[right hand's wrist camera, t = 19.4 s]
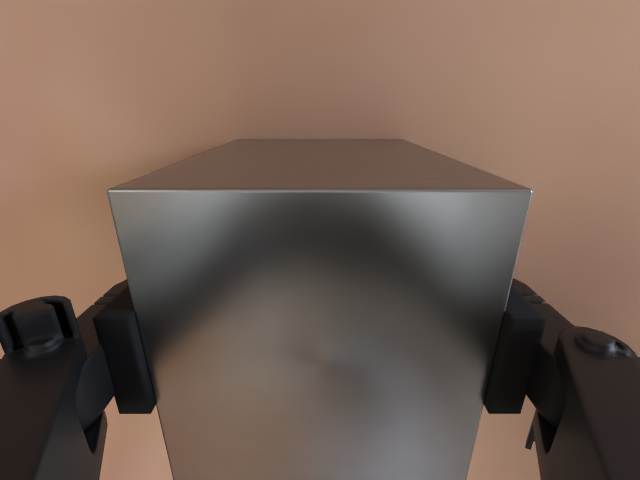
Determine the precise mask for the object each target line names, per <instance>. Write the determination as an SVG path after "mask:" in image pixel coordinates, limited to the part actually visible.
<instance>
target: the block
mask: <svg viewBox="0 0 640 480" xmlns="http://www.w3.org/2000/svg"><path fill="white" fill-rule="evenodd" d="M107 194H108V198H109V202H110V207H111V211H112V215H113V220H114V224H115V228H116V233H117V237H118V241H119V246H120V250H121V254H122V259H123V263H124V267H125V272H126V276H127V280H128V285H129V289H130V293H131V298H132V302H133V306H134V311H135V315H136V319H137V324H138V328H139V332H140V337H141V341H142V345H143V350H144V354H145V358H146V363H147V367H148V371H149V376H150V380H151V384H152V389H153V393H154V397H155V402H156V406H157V410H158V415H159V419H160V423H161V428H162V432H163V436H164V441H165V445H166V449H167V454H168V458H169V462H170V467H171V471H172V475H173V480H466V478H467V474H468V469H469V465H470V461H471V456H472V452H473V448H474V443H475V439H476V435H477V430H478V426H479V422H480V417H481V413H482V409H483V404H484V400H485V396H486V391H487V387H488V383H489V378H490V374H491V370H492V365H493V361H494V357H495V352H496V348H497V344H498V339H499V335H500V331H501V326H502V322H503V318H504V313H505V309H506V305H507V301H508V296H509V292H510V288H511V283H512V279H513V275H514V270H515V266H516V262H517V257H518V253H519V249H520V244H521V240H522V236H523V231H524V227H525V223H526V218H527V214H528V210H529V205H530V201H531V197H532V189H529V188H527V187H524V186H522V185H519V184H516V183H514V182H511V181H509V180H506V179H503V178H501V177H498V176H496V175H493V174H490V173H488V172H485V171H483V170H480V169H478V168H475V167H472V166H470V165H467V164H465V163H462V162H459V161H457V160H454V159H452V158H449V157H446V156H444V155H441V154H439V153H436V152H434V151H431V150H428V149H426V148H423V147H421V146H418V145H415V144H413V143H410V142H408V141H405V140H235V141H232V142H230V143H227V144H225V145H222V146H219V147H217V148H214V149H211V150H209V151H206V152H204V153H201V154H198V155H196V156H193V157H191V158H188V159H185V160H183V161H180V162H178V163H175V164H172V165H170V166H167V167H165V168H162V169H159V170H157V171H154V172H152V173H149V174H146V175H144V176H141V177H138V178H136V179H133V180H131V181H128V182H125V183H123V184H120V185H118V186H115V187H112V188H110V189H108V190H107Z"/></svg>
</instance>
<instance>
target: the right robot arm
mask: <svg viewBox="0 0 640 480" xmlns="http://www.w3.org/2000/svg"><path fill="white" fill-rule="evenodd" d="M0 343H1V345H2V348H3V350H4V353H5V354H4V356H3V358H2V359H0V480H99V477H100V471H101V464H102V458H103V451H104V445H105V438H106V432H107V425H108V424H107V418H106V414H105V411H104V409H105V408H106V406H107V405H108V403H109V402H110V401H111V399H112V398H113V396H115V400H116V403H117V407H118V410H119V414H151V412H152V410H153V409H154V407H155V405H156V402H155V397H154V393H153V389H152V384H151V380H150V376H149V371H148V367H147V363H146V358H145V354H144V350H143V345H142V341H141V337H140V332H139V328H138V324H137V319H136V315H135V311H134V306H133V302H132V298H131V293H130V289H129V285H128V280H127V279H126V280H125V281H123V282H121V283H119V284H117V285H115V286H113V287H112V288H111V289H110V290H109V291H108V292H106V293H105V294H104V295H103V297H101V298H100V299H98V300H97V301H96V302H95V303H94V305H91V306H90V307H89V308H88V309H87V310H86V311H85V312H83V313H82V314H81V315H80V316H79V317H78V318H76V317H75V314H74V310H73V307H72V304H71V301H70V299H68V298H66V297H64V296H46V297H39V298H35V299H31V300H27V301H24V302H21V303H18V304H16V305H13V306H11V307H9V308H7V309H5V310H3V311H1V312H0ZM525 395H527V396H528V398H529V399H530V400H531V402H532V403H533V405H534V406H535V407H536V411H535V414H534V418H533V421H532V424H531V427H530V431H529V434H528V437H527V440H526V446H525V448H527V449H530V450H531V447H532V444H533V442H534V441H535V444H536V450H537V457H538V463H539V470H540V476H541V480H640V358H639V357H637V355H636V354H635V352H634V351H633V350H632V349H631V348H630V347H629V346H628V345H626V344H625V343H623V342H622V341H620V340H619V339H617V338H615V337H613V336H611V335H609V334H606V333H604V332H601V331H598V330H594V329H591V328H586V327H578V326H574V325H572V324H571V323H570V322H569V321H568V320H567V319H565V318H564V317H563V316H562V315H561V314H560V313H558V312H557V311H556V310H555V309H554V308H553V307H551V306H550V305H549V304H546V301H544V300H543V299H542V298H541V297H540V296H537V294H536V293H535V292H534V291H533V290H532V289H530V288H529V287H528V286H527V285H526V284H524V283H522V282H520V281H518V280H516V279H514V278H513V279H512V283H511V288H510V292H509V296H508V301H507V305H506V309H505V313H504V318H503V322H502V326H501V331H500V335H499V339H498V344H497V348H496V352H495V357H494V361H493V365H492V370H491V374H490V378H489V383H488V387H487V391H486V396H485V400H484V405H485V407H486V409H487V411H488V413H489V414H520V413H521V409H522V406H523V402H524V399H525Z"/></svg>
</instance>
